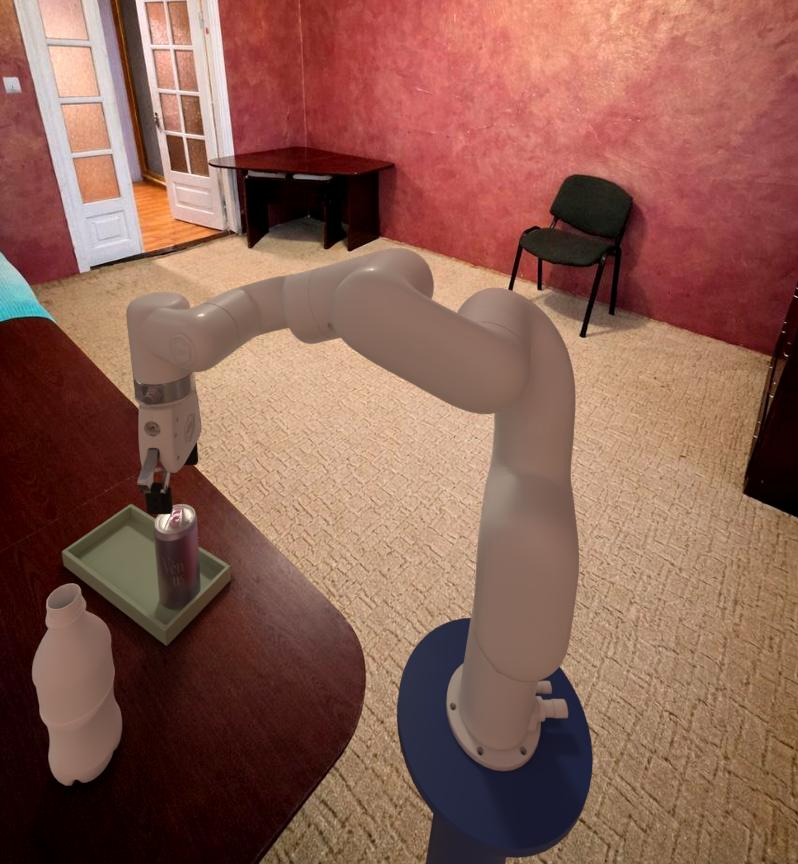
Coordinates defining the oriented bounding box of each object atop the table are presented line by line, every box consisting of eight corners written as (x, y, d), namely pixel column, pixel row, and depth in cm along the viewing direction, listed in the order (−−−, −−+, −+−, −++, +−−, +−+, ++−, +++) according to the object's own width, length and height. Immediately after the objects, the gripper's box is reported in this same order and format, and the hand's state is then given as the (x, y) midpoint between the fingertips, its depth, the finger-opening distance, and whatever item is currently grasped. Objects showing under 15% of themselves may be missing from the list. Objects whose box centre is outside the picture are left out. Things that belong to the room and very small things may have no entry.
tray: (231, 579, 80) (230, 565, 79) (166, 646, 69) (165, 631, 68) (132, 516, 90) (131, 503, 89) (63, 565, 80) (61, 551, 79)
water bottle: (137, 738, 59) (119, 582, 52) (79, 811, 53) (49, 644, 45) (97, 708, 62) (75, 555, 54) (38, 773, 55) (3, 610, 48)
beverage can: (203, 574, 80) (199, 500, 75) (197, 609, 74) (192, 531, 70) (164, 579, 78) (158, 505, 74) (155, 615, 73) (148, 536, 68)
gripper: (167, 421, 57) (177, 535, 62) (214, 354, 74) (219, 448, 79) (102, 419, 57) (117, 535, 62) (164, 352, 73) (172, 447, 78)
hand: (174, 486), depth 70 cm, fingers open, 9 cm apart
